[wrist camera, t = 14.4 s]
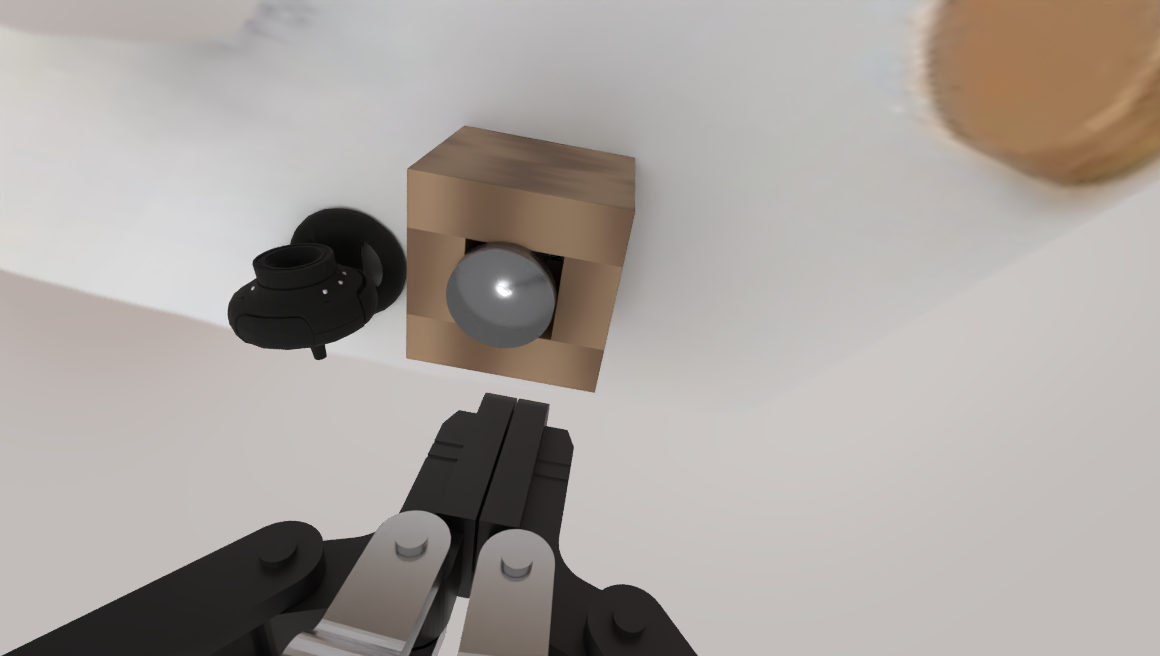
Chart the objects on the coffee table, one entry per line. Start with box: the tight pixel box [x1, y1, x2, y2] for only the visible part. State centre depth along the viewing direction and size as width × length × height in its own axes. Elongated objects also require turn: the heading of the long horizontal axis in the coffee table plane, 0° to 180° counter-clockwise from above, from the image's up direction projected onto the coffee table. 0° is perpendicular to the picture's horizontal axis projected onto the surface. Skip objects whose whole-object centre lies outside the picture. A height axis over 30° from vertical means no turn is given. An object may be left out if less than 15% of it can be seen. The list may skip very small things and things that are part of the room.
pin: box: [446, 241, 557, 348], centre depth 30 cm, size 5×5×10 cm
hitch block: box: [406, 126, 635, 393], centre depth 31 cm, size 10×10×10 cm
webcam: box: [228, 209, 406, 360], centre depth 33 cm, size 8×8×10 cm
